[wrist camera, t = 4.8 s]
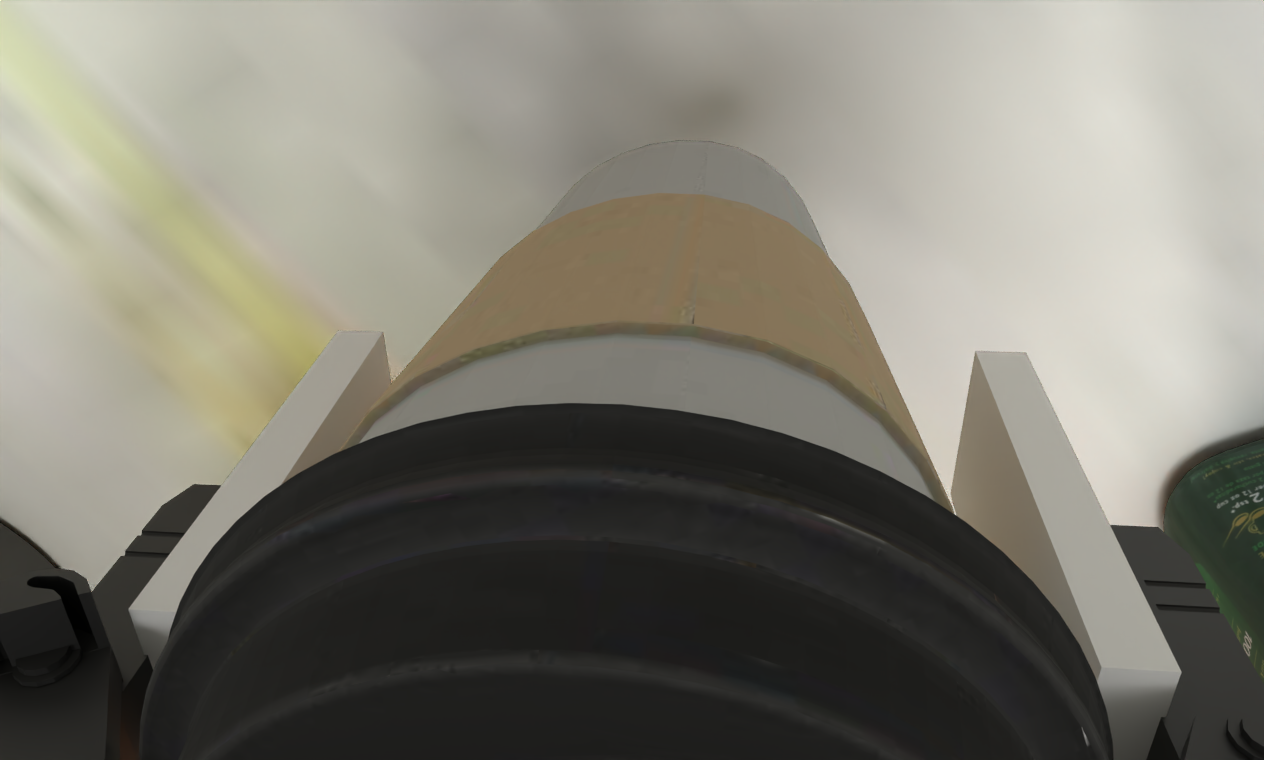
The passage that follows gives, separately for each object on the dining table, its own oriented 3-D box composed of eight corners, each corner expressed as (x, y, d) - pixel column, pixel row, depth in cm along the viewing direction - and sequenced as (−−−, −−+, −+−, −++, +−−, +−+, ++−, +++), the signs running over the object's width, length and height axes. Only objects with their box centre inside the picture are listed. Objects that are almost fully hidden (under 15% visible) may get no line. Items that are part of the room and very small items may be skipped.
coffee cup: (378, 233, 22) (-163, 882, 9) (733, -69, 18) (688, 292, 5) (655, 520, 25) (551, 1309, 12) (1006, 313, 21) (1398, 1127, 8)
